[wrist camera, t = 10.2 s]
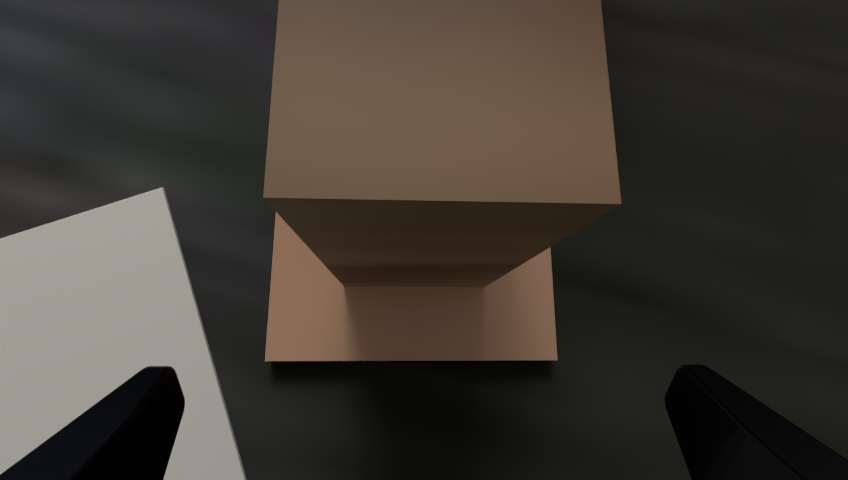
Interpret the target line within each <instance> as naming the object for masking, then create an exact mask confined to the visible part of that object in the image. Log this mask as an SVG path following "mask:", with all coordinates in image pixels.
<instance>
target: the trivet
mask: <svg viewBox="0 0 848 480" xmlns="http://www.w3.org/2000/svg"><path fill="white" fill-rule="evenodd" d="M505 360H557V344H556V329H555V313H554V297H553V281H552V265H551V249H550V248H548V249H546V250H545V251H543V252H542V253H540V254H538V255H537V256H535V257H533V258H532V259H530V260H528V261H527V262H525V263H523V264H522V265H520V266H518V267H517V268H515V269H514V270H512V271H510V272H509V273H507V274H505V275H504V276H502V277H500V278H499V279H497V280H495V281H494V282H492V283H490V284H489V285H487V286H486V287H408V286H343V285H342V284H341V283H340V282H339V280H338V279H337V278H336V277H335V276H334V275H333V274H332V273H331V272H330V271H329V269H328V268H327V267H326V266H325V265H324V264H323V263H322V262H321V261H320V260H319V258H318V257H317V256H316V255H315V254H314V253H313V252H312V251H311V250H310V249H309V247H308V246H307V245H306V244H305V243H304V242H303V241H302V240H301V239H300V238H299V236H298V235H297V234H296V233H295V232H294V231H293V230H292V229H291V228H290V227H289V225H288V224H287V223H286V222H285V221H284V220H283V219H282V218H281V217H280V216H279V214H278V213H277V212H276V219H275V232H274V246H273V259H272V272H271V286H270V299H269V313H268V326H267V340H266V353H265V361H505Z"/></svg>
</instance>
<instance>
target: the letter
mask: <svg viewBox="0 0 848 480" xmlns="http://www.w3.org/2000/svg"><path fill="white" fill-rule="evenodd" d="M148 366H171V367H173V368H174V369H175V371H176V374H177V377H178V380H179V383H180V386H181V389H182V392H183V395H184V399H185V408H184V413H183V416H182V419H181V423H180V426H179V429H178V433H177V436H176V439H175V443H174V446H173V449H172V452H171V456H170V459H169V462H168V466H167V469H166V472H165V476H164V479H163V480H247V479H246V476H245V472H244V469H243V465H242V462H241V458H240V455H239V451H238V448H237V444H236V441H235V437H234V433H233V430H232V426H231V423H230V419H229V416H228V412H227V409H226V405H225V402H224V398H223V395H222V391H221V387H220V384H219V380H218V377H217V373H216V370H215V366H214V363H213V359H212V356H211V352H210V349H209V345H208V341H207V338H206V334H205V331H204V327H203V324H202V320H201V317H200V313H199V310H198V306H197V303H196V299H195V296H194V292H193V288H192V285H191V281H190V278H189V274H188V271H187V267H186V264H185V260H184V257H183V253H182V250H181V246H180V242H179V239H178V235H177V232H176V228H175V225H174V221H173V218H172V214H171V211H170V207H169V204H168V200H167V196H166V193H165V189H164V188H163V187H162V188H158V189H155V190H152V191H149V192H146V193H143V194H140V195H136V196H133V197H130V198H127V199H124V200H121V201H117V202H114V203H111V204H108V205H105V206H102V207H99V208H95V209H92V210H89V211H86V212H83V213H80V214H77V215H73V216H70V217H67V218H64V219H61V220H58V221H54V222H51V223H48V224H45V225H42V226H39V227H36V228H32V229H29V230H26V231H23V232H20V233H17V234H14V235H10V236H7V237H4V238H1V239H0V474H2V473H3V472H4V471H6V470H7V469H8V468H10V467H11V466H12V465H14V464H15V463H16V462H18V461H19V460H20V459H22V458H23V457H24V456H26V455H27V454H28V453H30V452H31V451H33V450H34V449H35V448H37V447H38V446H39V445H41V444H42V443H43V442H45V441H46V440H47V439H49V438H50V437H51V436H53V435H54V434H55V433H57V432H58V431H59V430H61V429H62V428H64V427H65V426H66V425H68V424H69V423H70V422H72V421H73V420H74V419H76V418H77V417H78V416H80V415H81V414H82V413H84V412H85V411H86V410H88V409H89V408H90V407H92V406H93V405H95V404H96V403H97V402H99V401H100V400H101V399H103V398H104V397H105V396H107V395H108V394H109V393H111V392H112V391H113V390H115V389H116V388H117V387H119V386H120V385H121V384H123V383H124V382H126V381H127V380H128V379H130V378H131V377H132V376H134V375H135V374H136V373H138V372H139V371H140V370H142V369H143V368H145V367H148Z"/></svg>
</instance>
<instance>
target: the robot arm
mask: <svg viewBox="0 0 848 480" xmlns="http://www.w3.org/2000/svg"><path fill="white" fill-rule="evenodd" d="M665 406H666V410H667V412H668V415H669V418H670V421H671V423H672V426H673V429H674V432H675V434H676V437H677V440H678V443H679V445H680V448H681V451H682V454H683V457H684V459H685V462H686V465H687V468H688V470H689V473H690V476H691V478H692V480H848V460H847V459H846V458H844V457H843V456H841V455H840V454H838V453H837V452H835V451H834V450H832V449H831V448H829V447H828V446H826V445H825V444H823V443H822V442H820V441H819V440H817V439H816V438H814V437H813V436H811V435H810V434H808V433H807V432H805V431H804V430H802V429H801V428H799V427H797V426H796V425H794V424H793V423H791V422H790V421H788V420H787V419H785V418H784V417H782V416H781V415H779V414H778V413H776V412H775V411H773V410H772V409H770V408H769V407H767V406H766V405H764V404H763V403H761V402H760V401H758V400H757V399H755V398H754V397H752V396H751V395H749V394H748V393H746V392H745V391H743V390H742V389H740V388H739V387H737V386H736V385H734V384H733V383H731V382H730V381H728V380H727V379H725V378H724V377H722V376H721V375H719V374H718V373H716V372H715V371H713V370H712V369H710V368H708V367H707V366H704V365H681V366H680V367H679V368H678V369H677V370H676V372H675V375H674V377H673V379H672V381H671V383H670V385H669V387H668V390H667V392H666V394H665ZM184 408H185V399H184V395H183V392H182V389H181V386H180V383H179V380H178V377H177V374H176V371H175V369H174V368H173V367H171V366H148V367H145V368H143V369H142V370H140V371H139V372H138V373H136V374H135V375H134V376H132V377H131V378H130V379H128V380H127V381H126V382H124V383H123V384H121V385H120V386H119V387H117V388H116V389H115V390H113V391H112V392H111V393H109V394H108V395H107V396H105V397H104V398H103V399H101V400H100V401H99V402H97V403H96V404H95V405H93V406H92V407H90V408H89V409H88V410H86V411H85V412H84V413H82V414H81V415H80V416H78V417H77V418H76V419H74V420H73V421H72V422H70V423H69V424H68V425H66V426H65V427H64V428H62V429H61V430H59V431H58V432H57V433H55V434H54V435H53V436H51V437H50V438H49V439H47V440H46V441H45V442H43V443H42V444H41V445H39V446H38V447H37V448H35V449H34V450H33V451H31V452H30V453H28V454H27V455H26V456H24V457H23V458H22V459H20V460H19V461H18V462H16V463H15V464H14V465H12V466H11V467H10V468H8V469H7V470H6V471H4V472H3V473H2V474H0V480H163V479H164V476H165V472H166V469H167V466H168V462H169V459H170V456H171V452H172V449H173V446H174V443H175V439H176V436H177V433H178V429H179V426H180V423H181V419H182V416H183V413H184Z"/></svg>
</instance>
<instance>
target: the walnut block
mask: <svg viewBox="0 0 848 480" xmlns="http://www.w3.org/2000/svg"><path fill="white" fill-rule="evenodd" d="M263 198H264V199H265V200H266V201H267V202H268V203H269V205H270V206H271V207H272V208H273V209H274V210H275V211H276V212H277V213H278V214H279V216H280V217H281V218H282V219H283V220H284V221H285V222H286V223H287V224H288V225H289V227H290V228H291V229H292V230H293V231H294V232H295V233H296V234H297V235H298V236H299V238H300V239H301V240H302V241H303V242H304V243H305V244H306V245H307V246H308V247H309V249H310V250H311V251H312V252H313V253H314V254H315V255H316V256H317V257H318V258H319V260H320V261H321V262H322V263H323V264H324V265H325V266H326V267H327V268H328V269H329V271H330V272H331V273H332V274H333V275H334V276H335V277H336V278H337V279H338V280H339V282H340V283H341V284H342V285H343V286H408V287H486V286H487V285H489V284H490V283H492V282H494V281H495V280H497V279H499V278H500V277H502V276H504V275H505V274H507V273H509V272H510V271H512V270H514V269H515V268H517V267H518V266H520V265H522V264H523V263H525V262H527V261H528V260H530V259H532V258H533V257H535V256H537V255H538V254H540V253H542V252H543V251H545V250H546V249H548V248H550V247H551V246H553V245H555V244H556V243H558V242H560V241H561V240H563V239H565V238H566V237H568V236H570V235H571V234H573V233H575V232H576V231H578V230H579V229H581V228H583V227H584V226H586V225H588V224H589V223H591V222H593V221H594V220H596V219H598V218H599V217H601V216H603V215H604V214H606V213H607V212H609V211H611V210H612V209H614V208H616V207H617V206H619V205H621V196H620V186H619V176H618V166H617V156H616V146H615V136H614V127H613V117H612V107H611V97H610V87H609V77H608V67H607V58H606V48H605V38H604V28H603V18H602V8H601V0H279V7H278V19H277V32H276V44H275V57H274V69H273V82H272V94H271V107H270V119H269V132H268V144H267V157H266V169H265V182H264V194H263Z"/></svg>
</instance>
